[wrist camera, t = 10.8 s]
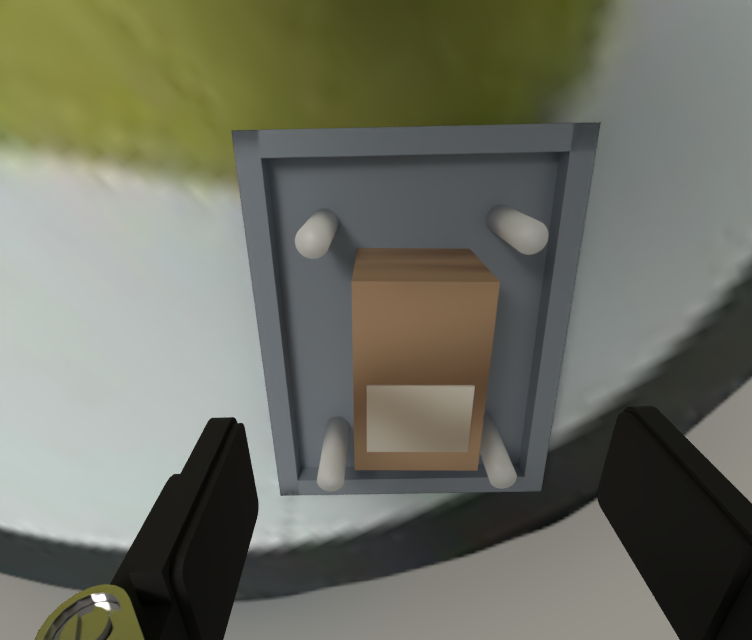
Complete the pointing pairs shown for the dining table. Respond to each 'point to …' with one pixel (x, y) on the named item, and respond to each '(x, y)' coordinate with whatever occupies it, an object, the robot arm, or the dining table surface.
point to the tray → (411, 230)
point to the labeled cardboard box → (420, 357)
